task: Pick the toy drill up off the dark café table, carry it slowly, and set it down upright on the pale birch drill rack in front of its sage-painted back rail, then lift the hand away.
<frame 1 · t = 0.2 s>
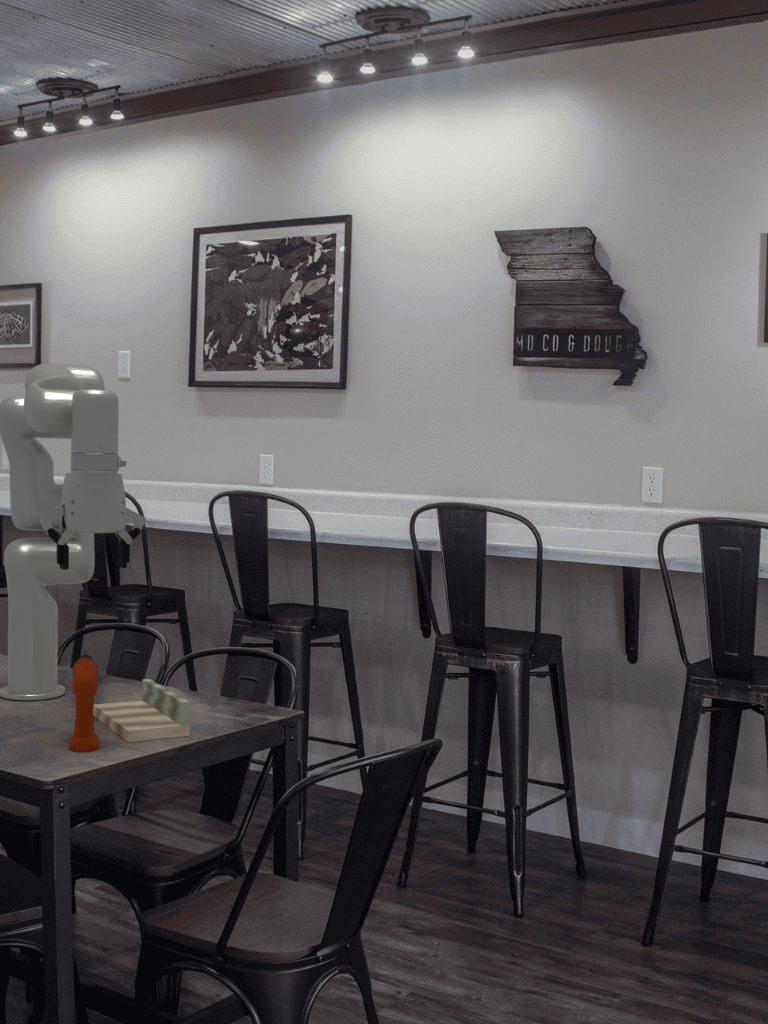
hand: (93, 568, 181), 30 cm above the table, tool pointing down, fingers open, 9 cm apart
toy drill: (84, 740, 186), on the table
drill rack: (139, 725, 197), on the table
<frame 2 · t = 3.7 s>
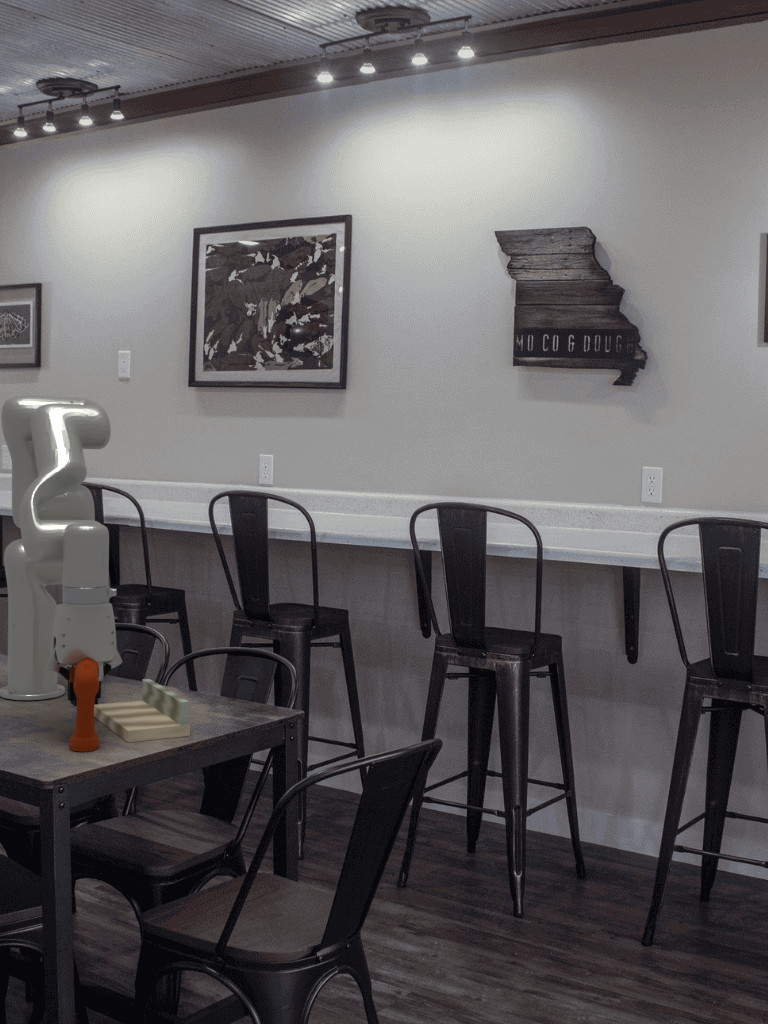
hand: (84, 702, 187), 6 cm above the table, tool pointing down, fingers closed on toy drill, 2 cm apart
toy drill: (84, 740, 186), on the table, touching gripper
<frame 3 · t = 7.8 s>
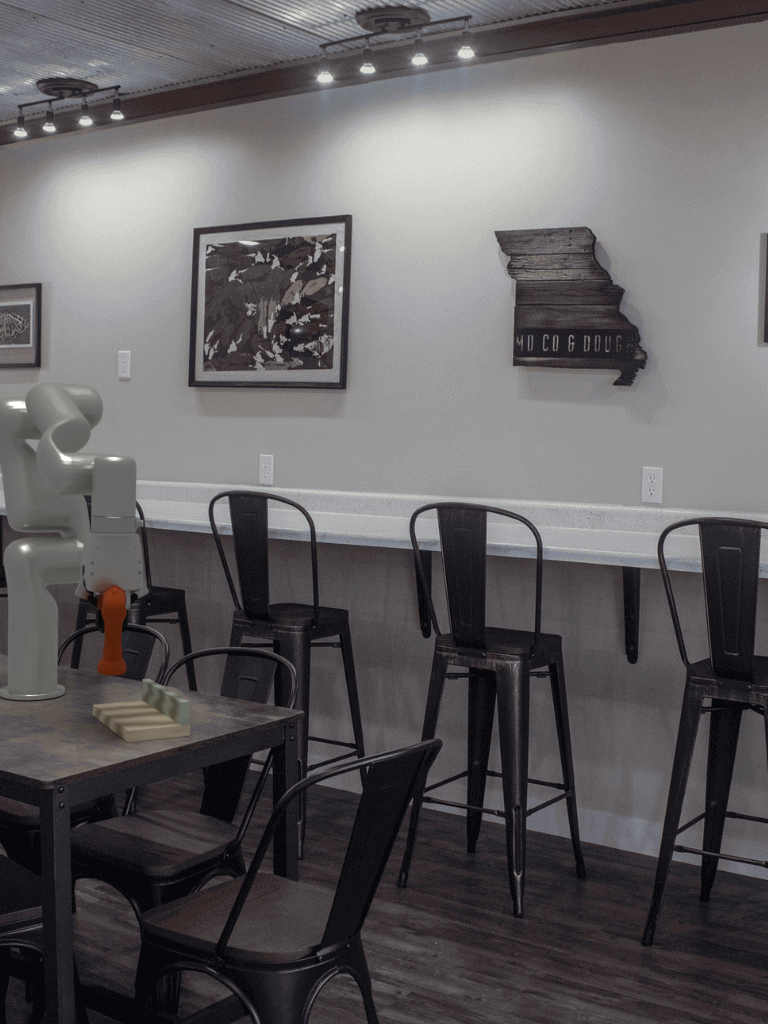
hand: (111, 630, 191), 18 cm above the table, tool pointing down, fingers closed on toy drill, 2 cm apart
toy drill: (111, 667, 191), point 11 cm above the table, touching gripper
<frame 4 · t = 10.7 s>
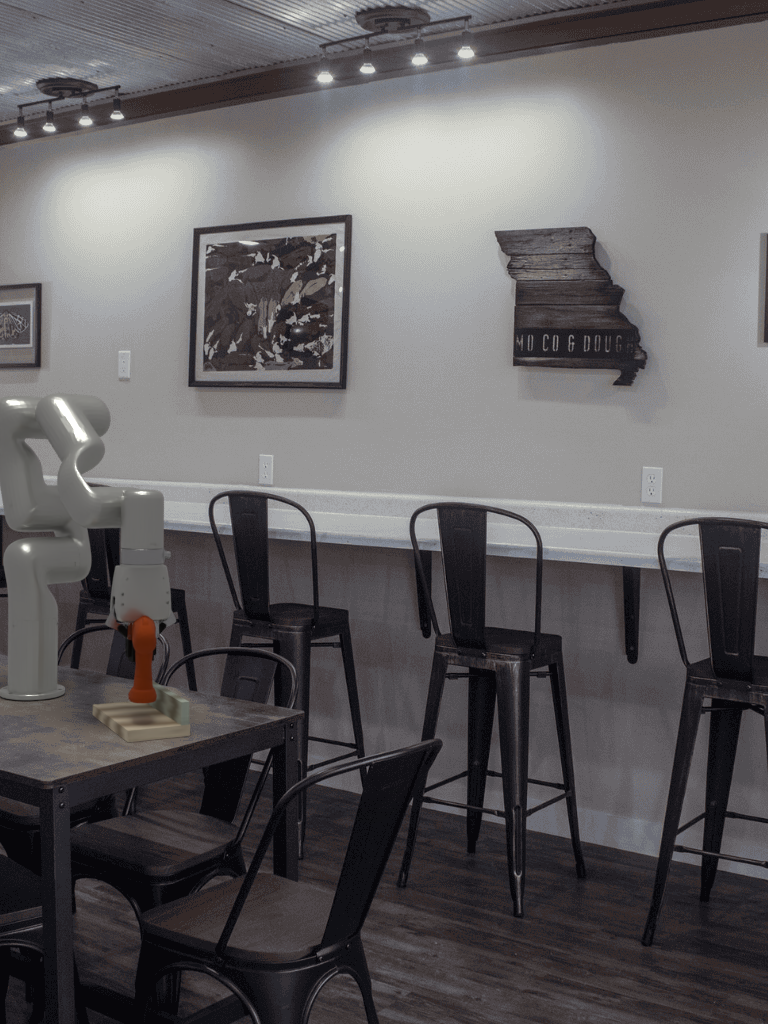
hand: (140, 659, 197), 12 cm above the table, tool pointing down, fingers closed on toy drill, 2 cm apart
toy drill: (141, 694, 197), point 6 cm above the table, touching gripper
when the fingers open (9 cm above the table, at t = 12.3 s): toy drill moves 1 cm, resting on drill rack.
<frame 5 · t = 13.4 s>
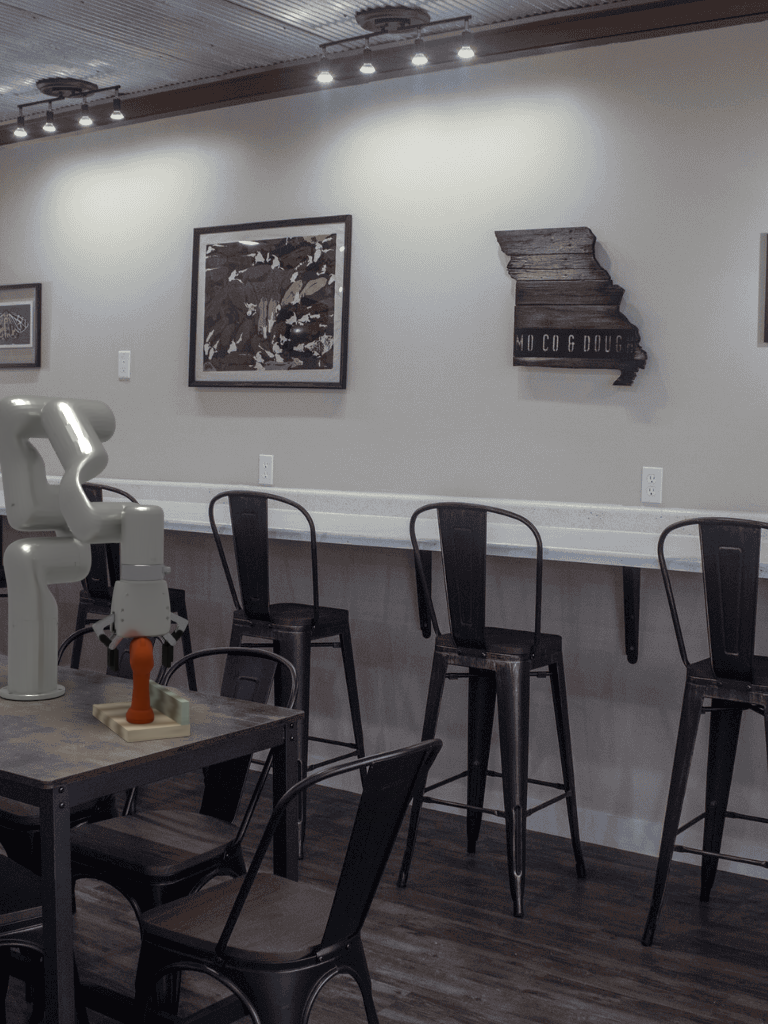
hand: (140, 668, 197), 10 cm above the table, tool pointing down, fingers open, 9 cm apart
toy drill: (138, 714, 198), point 2 cm above the table, touching drill rack
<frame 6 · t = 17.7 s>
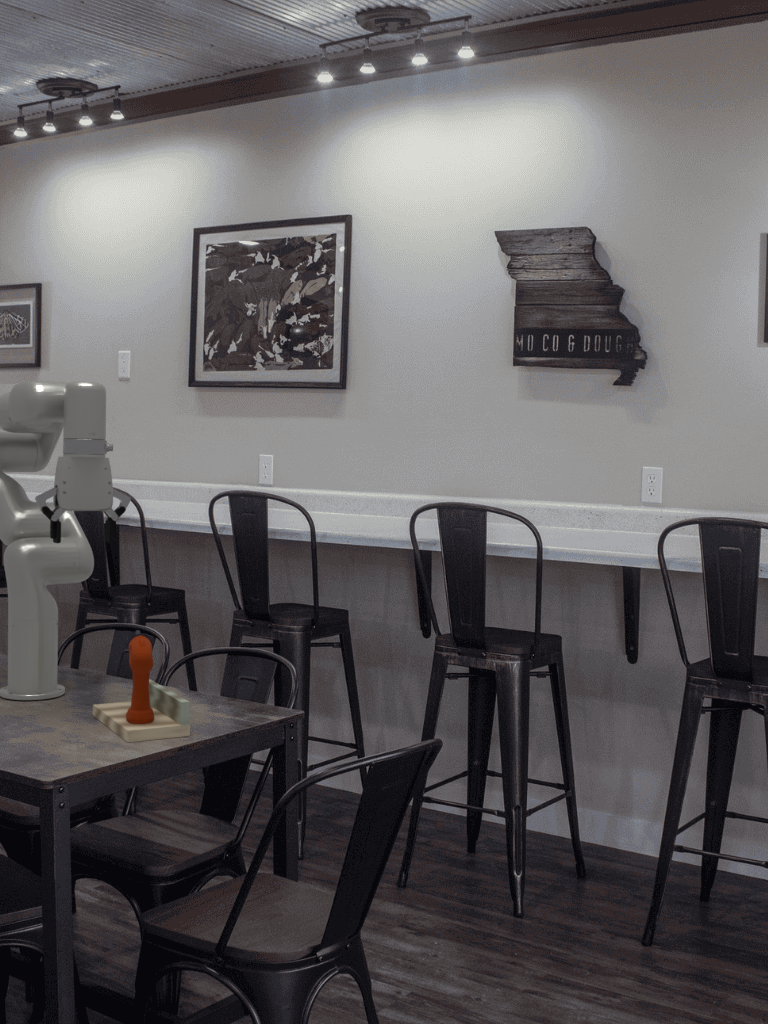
hand: (83, 542, 202), 32 cm above the table, tool pointing down, fingers open, 9 cm apart
nothing on the table moved.
at the end: toy drill inside the target area on the drill rack (0.5 cm from its centre), point 1.8 cm above the drill rack's base; toy drill tilted 0°; the gripper is holding nothing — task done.
